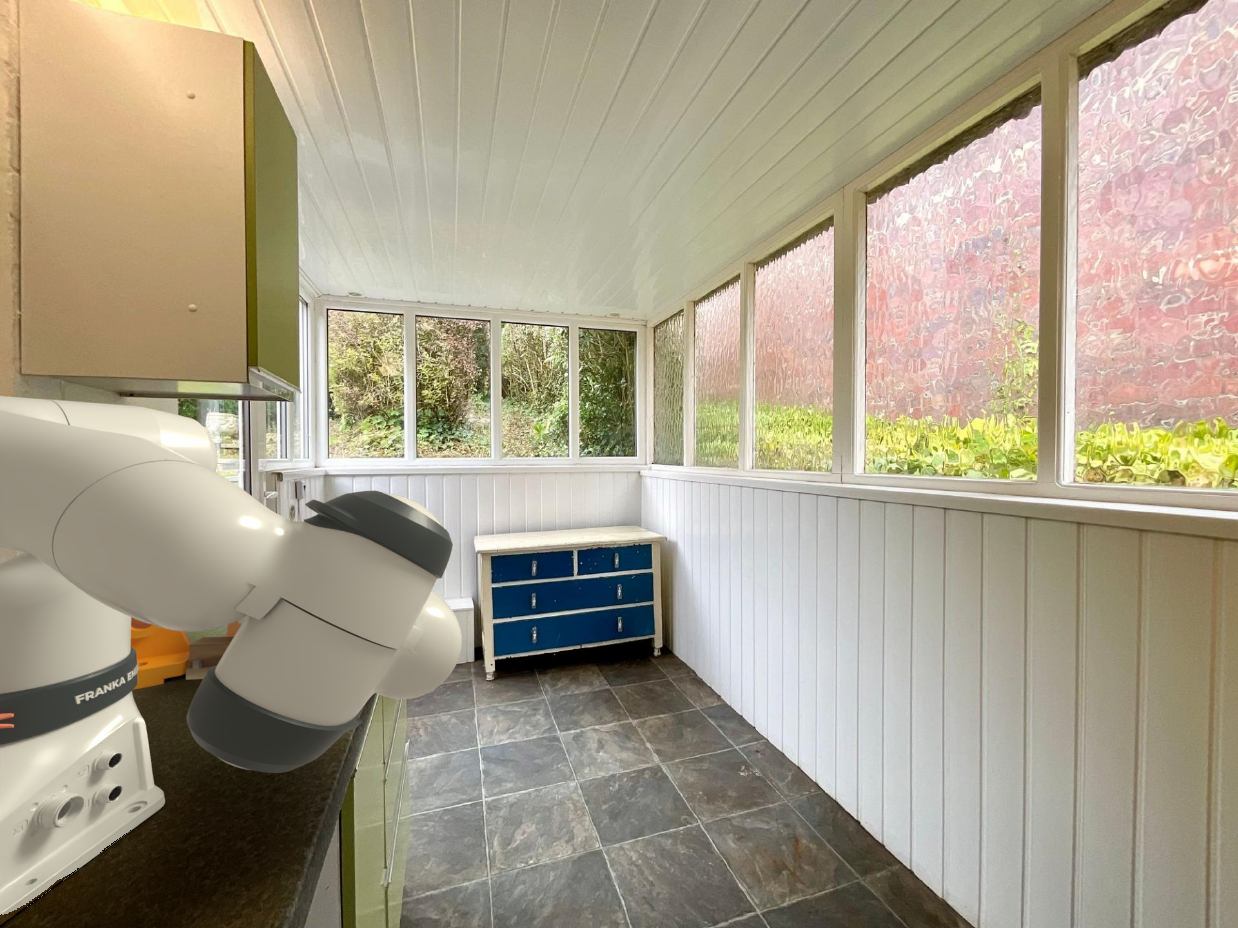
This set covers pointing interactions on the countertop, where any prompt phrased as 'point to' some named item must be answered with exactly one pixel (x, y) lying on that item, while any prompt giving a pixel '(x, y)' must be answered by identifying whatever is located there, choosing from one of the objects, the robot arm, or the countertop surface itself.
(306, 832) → the countertop surface
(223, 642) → the rail board
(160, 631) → the bracket
